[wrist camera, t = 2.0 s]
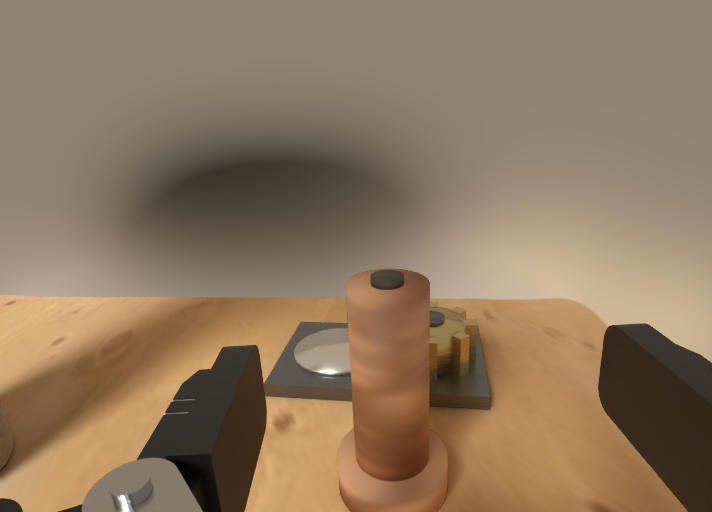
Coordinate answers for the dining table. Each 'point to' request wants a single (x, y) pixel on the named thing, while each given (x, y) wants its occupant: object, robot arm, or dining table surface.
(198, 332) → the dining table surface
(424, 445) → the brown round post
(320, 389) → the carrier plate
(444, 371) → the sun gear
